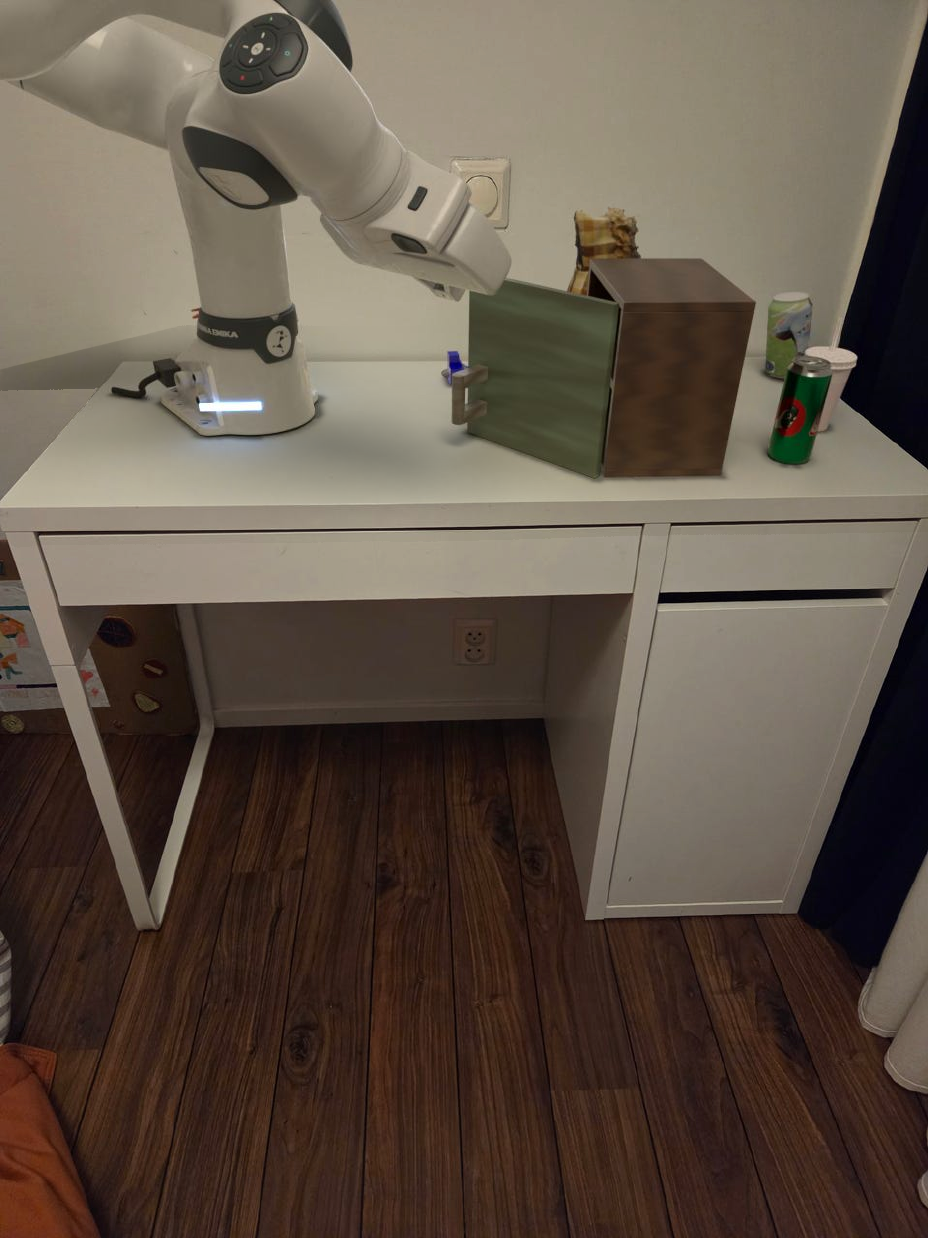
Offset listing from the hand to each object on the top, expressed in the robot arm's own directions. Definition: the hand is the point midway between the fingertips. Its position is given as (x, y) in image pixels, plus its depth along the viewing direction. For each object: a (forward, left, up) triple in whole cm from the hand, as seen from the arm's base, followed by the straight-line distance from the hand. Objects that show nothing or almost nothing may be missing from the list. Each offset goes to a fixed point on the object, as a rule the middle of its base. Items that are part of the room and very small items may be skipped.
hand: (452, 293), depth 87 cm
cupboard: (+11, +25, -21) cm, 34 cm away
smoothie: (+24, +45, -21) cm, 55 cm away
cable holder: (-20, +27, -21) cm, 40 cm away
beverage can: (+12, +61, -21) cm, 66 cm away
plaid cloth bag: (-8, +38, -21) cm, 44 cm away
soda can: (+26, +33, -21) cm, 47 cm away
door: (+2, +9, -21) cm, 23 cm away
